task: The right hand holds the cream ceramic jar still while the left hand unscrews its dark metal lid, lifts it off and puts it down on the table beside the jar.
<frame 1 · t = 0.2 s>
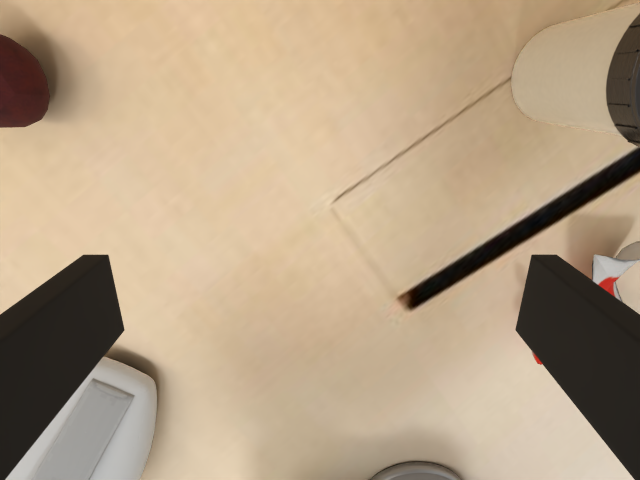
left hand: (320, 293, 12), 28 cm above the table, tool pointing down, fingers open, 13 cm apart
fish: (566, 281, 44), on the table
projector: (98, 419, 51), on the table
jar: (557, 74, 36), on the table
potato: (27, 82, 36), on the table
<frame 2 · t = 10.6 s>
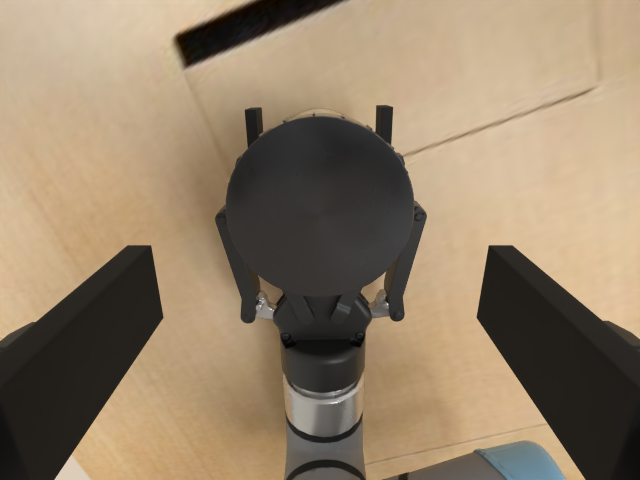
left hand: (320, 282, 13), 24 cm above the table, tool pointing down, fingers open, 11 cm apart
right hand: (318, 107, 28), fingers closed on jar, 8 cm apart
lid: (319, 212, 20), point 16 cm above the table, screwed on, not yet turned
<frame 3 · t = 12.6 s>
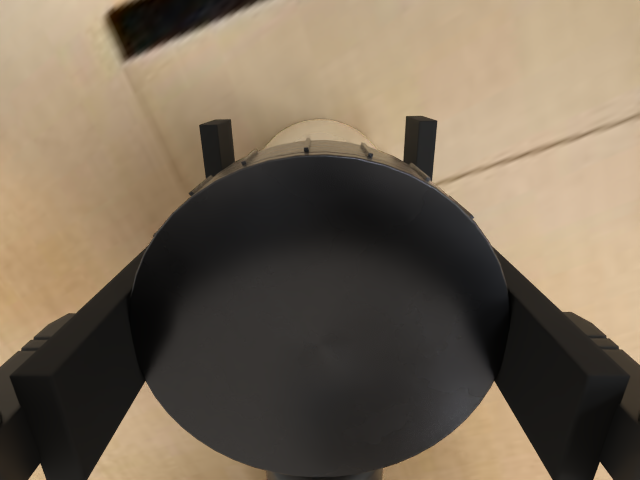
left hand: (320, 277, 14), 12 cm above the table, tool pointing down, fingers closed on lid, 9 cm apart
lid: (319, 336, 10), point 16 cm above the table, screwed on, not yet turned, touching left hand
jar: (319, 188, 25), on the table, touching right hand
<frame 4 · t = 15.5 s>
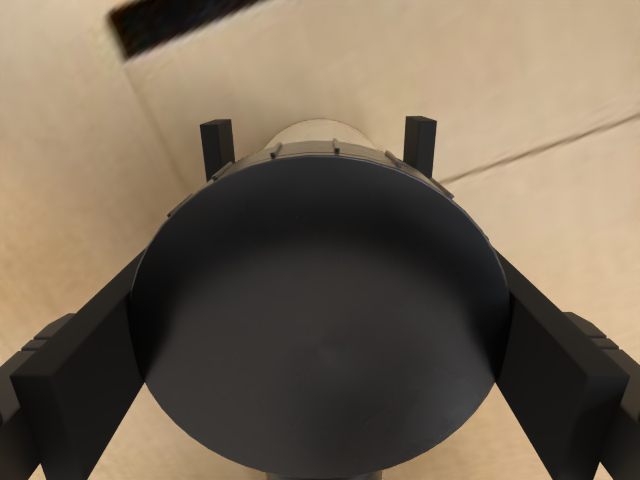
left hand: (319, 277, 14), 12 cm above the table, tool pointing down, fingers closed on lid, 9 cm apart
lid: (319, 337, 10), point 16 cm above the table, turned 95° so far, risen 0.1 cm, still on its thread, touching left hand
jar: (319, 188, 25), on the table, touching right hand
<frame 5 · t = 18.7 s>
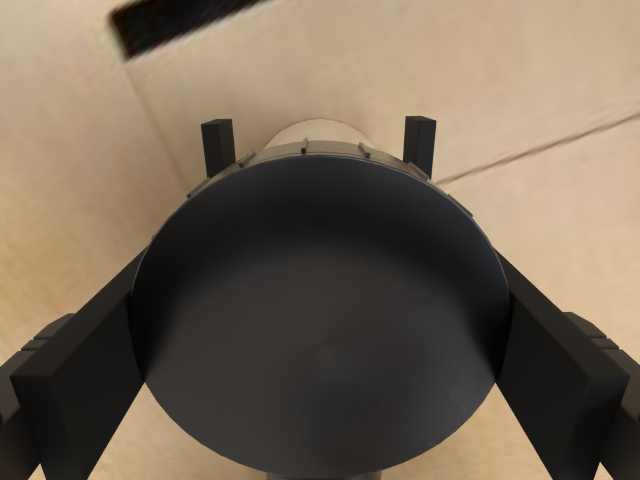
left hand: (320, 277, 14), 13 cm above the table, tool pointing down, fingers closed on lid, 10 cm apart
lid: (320, 337, 10), point 16 cm above the table, turned 190° so far, risen 0.2 cm, still on its thread, touching left hand
jar: (320, 187, 25), on the table, touching right hand
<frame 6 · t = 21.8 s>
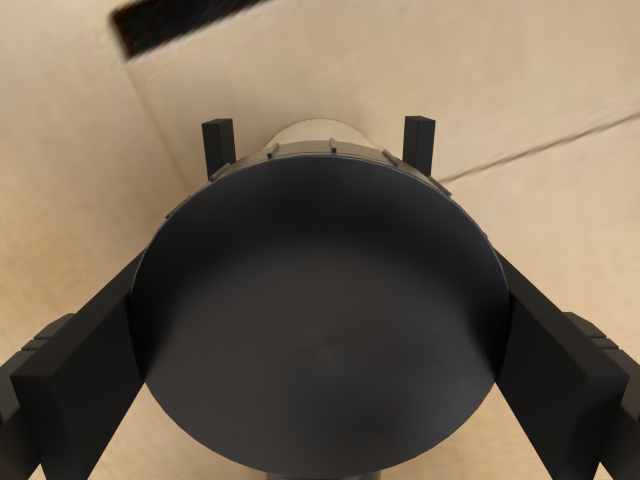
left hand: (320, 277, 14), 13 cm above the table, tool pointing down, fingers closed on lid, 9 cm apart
lid: (319, 337, 10), point 16 cm above the table, turned 284° so far, risen 0.3 cm, still on its thread, touching left hand
jar: (319, 187, 25), on the table, touching right hand
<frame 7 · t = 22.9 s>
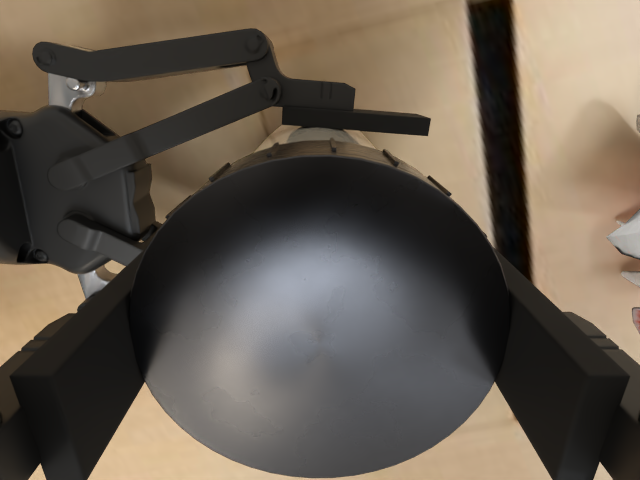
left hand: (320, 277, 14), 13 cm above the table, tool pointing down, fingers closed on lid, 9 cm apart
right hand: (406, 216, 20), fingers closed on jar, 8 cm apart
fish: (636, 219, 27), on the table
lid: (319, 337, 10), point 17 cm above the table, off its thread, touching left hand
jar: (316, 182, 26), on the table, touching right hand
when the left hand's fingers open (0 cm above the table, at t = 29.4 s): lid drops 2 cm, point 2 cm above the table.
when the right hand's fingers open (6 cm above the table, at t = 30.4 s): jar stays where it is, on the table.
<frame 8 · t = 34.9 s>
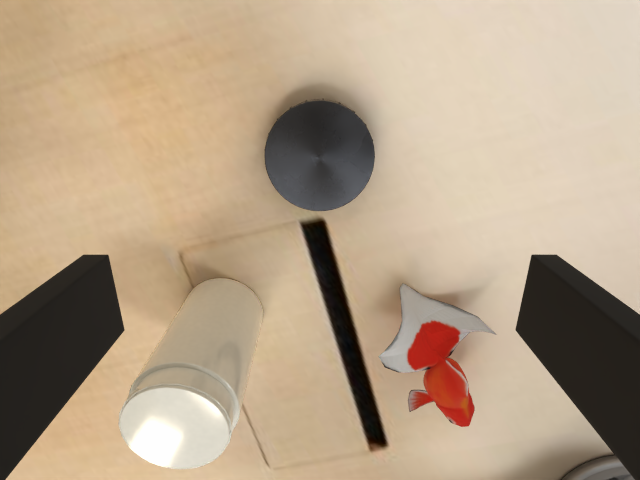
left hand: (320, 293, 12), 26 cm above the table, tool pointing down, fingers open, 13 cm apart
fish: (422, 333, 44), on the table
lid: (319, 157, 35), point 2 cm above the table, off its thread
jar: (224, 312, 43), on the table
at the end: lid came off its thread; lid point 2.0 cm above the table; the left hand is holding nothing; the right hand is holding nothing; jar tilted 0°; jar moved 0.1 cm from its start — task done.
